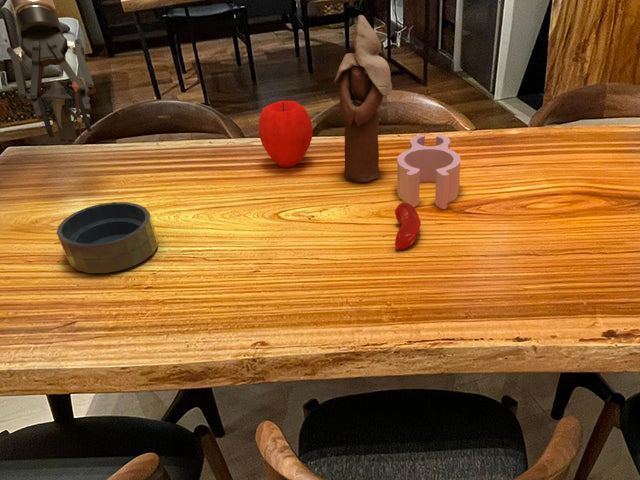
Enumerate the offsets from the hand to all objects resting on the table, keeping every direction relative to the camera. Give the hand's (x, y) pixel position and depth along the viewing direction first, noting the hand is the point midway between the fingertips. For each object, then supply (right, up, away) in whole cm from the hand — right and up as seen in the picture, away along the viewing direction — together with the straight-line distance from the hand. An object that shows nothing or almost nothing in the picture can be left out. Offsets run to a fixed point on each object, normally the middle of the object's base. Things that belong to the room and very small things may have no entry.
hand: (69, 130), depth 120 cm
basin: (+12, -25, -7) cm, 28 cm away
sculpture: (+58, -4, +15) cm, 60 cm away
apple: (+40, 0, +20) cm, 44 cm away
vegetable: (+65, -21, -5) cm, 68 cm away
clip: (+70, -8, +9) cm, 71 cm away
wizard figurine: (-1, 0, +5) cm, 5 cm away
